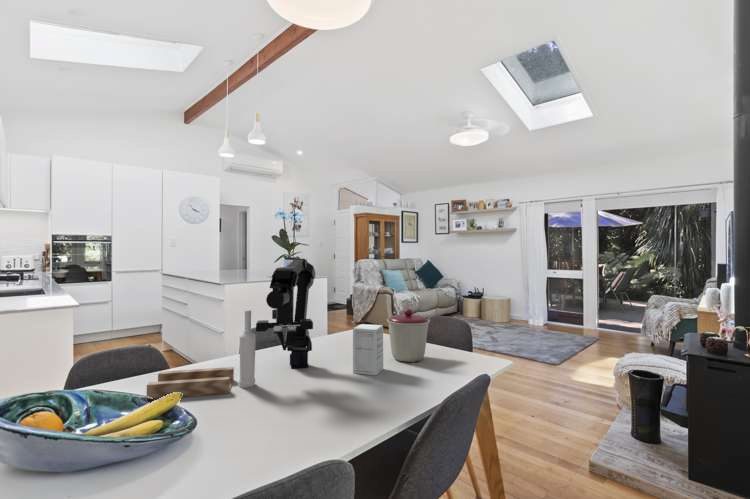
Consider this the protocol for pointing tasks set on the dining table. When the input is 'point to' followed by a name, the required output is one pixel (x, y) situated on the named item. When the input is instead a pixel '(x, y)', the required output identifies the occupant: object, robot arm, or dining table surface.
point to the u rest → (192, 382)
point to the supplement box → (368, 349)
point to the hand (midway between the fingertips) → (284, 350)
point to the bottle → (247, 354)
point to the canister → (408, 336)
